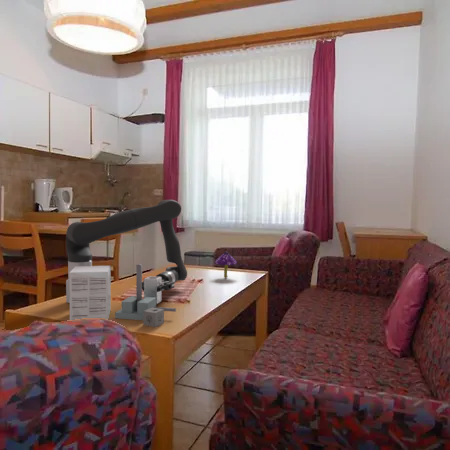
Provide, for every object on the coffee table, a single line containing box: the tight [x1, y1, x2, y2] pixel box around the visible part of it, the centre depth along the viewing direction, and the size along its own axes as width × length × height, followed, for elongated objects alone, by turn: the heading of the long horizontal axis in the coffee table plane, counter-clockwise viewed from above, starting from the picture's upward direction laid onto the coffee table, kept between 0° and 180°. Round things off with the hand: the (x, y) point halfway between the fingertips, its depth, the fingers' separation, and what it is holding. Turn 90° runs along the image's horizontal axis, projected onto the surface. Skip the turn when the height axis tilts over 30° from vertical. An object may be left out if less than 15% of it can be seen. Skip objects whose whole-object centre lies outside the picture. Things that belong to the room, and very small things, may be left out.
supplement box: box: [69, 265, 112, 321], centre depth 137 cm, size 13×13×18 cm
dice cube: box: [142, 308, 165, 328], centre depth 129 cm, size 5×5×5 cm
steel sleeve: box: [143, 275, 162, 305], centre depth 152 cm, size 5×5×10 cm
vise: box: [114, 263, 177, 321], centre depth 138 cm, size 21×10×19 cm, turn 80°
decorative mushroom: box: [214, 251, 238, 279], centre depth 211 cm, size 12×12×15 cm
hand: (150, 289), depth 150 cm, fingers closed on steel sleeve, 5 cm apart
